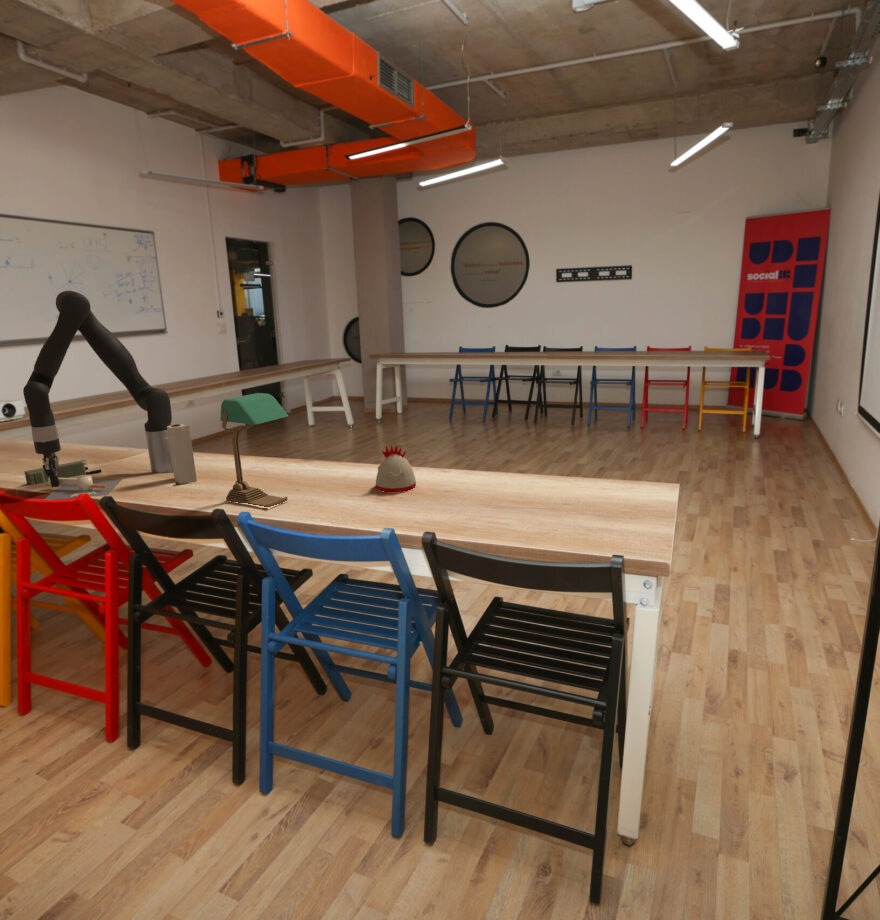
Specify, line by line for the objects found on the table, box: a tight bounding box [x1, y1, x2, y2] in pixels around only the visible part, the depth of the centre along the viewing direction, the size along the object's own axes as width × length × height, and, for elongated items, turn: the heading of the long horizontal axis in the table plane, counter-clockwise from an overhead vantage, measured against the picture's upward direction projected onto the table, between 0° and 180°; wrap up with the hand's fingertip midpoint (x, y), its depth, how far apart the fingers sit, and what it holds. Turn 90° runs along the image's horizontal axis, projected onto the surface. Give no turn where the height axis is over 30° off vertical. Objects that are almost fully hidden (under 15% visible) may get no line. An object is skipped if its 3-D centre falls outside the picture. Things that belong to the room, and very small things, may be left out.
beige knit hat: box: [375, 444, 417, 493], centre depth 212 cm, size 14×14×15 cm
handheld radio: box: [23, 459, 102, 486], centre depth 235 cm, size 7×3×25 cm
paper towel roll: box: [167, 423, 198, 485], centre depth 225 cm, size 7×6×21 cm
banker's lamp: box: [220, 392, 289, 507], centre depth 198 cm, size 16×21×35 cm
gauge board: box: [43, 478, 123, 501], centre depth 219 cm, size 20×20×2 cm
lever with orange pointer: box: [47, 475, 107, 491], centre depth 218 cm, size 22×4×4 cm, turn 79°
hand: (55, 486), depth 217 cm, fingers closed
